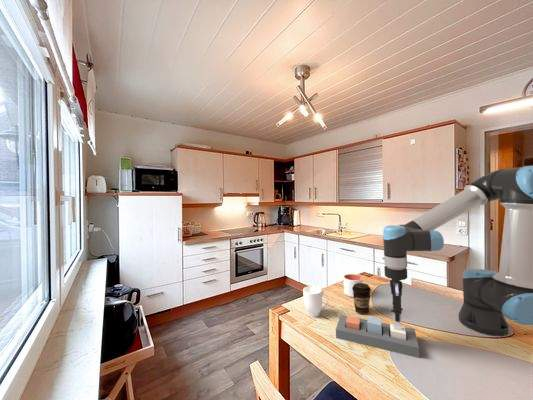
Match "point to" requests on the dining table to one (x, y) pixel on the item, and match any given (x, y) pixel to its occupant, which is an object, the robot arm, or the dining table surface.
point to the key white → (397, 332)
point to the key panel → (379, 337)
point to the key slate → (374, 325)
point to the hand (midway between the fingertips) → (397, 328)
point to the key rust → (353, 323)
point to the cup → (351, 283)
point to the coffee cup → (361, 298)
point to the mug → (313, 300)
